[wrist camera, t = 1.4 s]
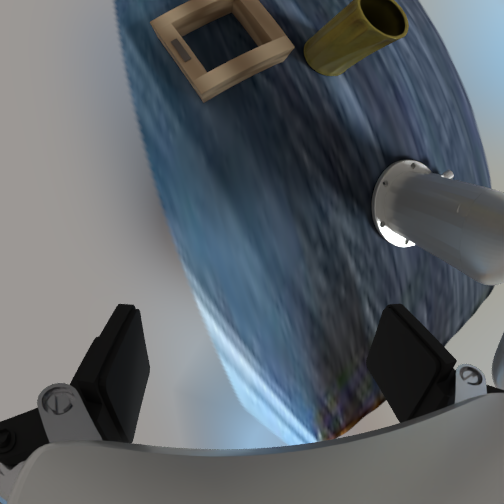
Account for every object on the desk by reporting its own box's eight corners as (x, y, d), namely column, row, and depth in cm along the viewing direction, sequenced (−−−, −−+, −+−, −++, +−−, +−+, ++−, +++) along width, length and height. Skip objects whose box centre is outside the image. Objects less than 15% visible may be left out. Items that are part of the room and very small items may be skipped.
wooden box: (236, -1, 24) (240, -22, 19) (284, 60, 28) (295, 46, 23) (158, 38, 25) (149, 21, 20) (203, 102, 29) (201, 93, 24)
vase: (321, 84, 29) (382, 51, 16) (293, 45, 27) (338, -8, 14) (356, 66, 28) (423, 35, 15) (330, 29, 26) (385, -18, 13)
